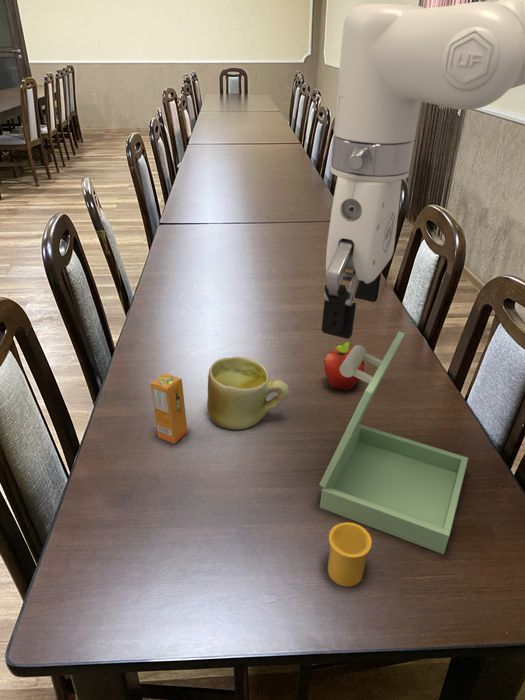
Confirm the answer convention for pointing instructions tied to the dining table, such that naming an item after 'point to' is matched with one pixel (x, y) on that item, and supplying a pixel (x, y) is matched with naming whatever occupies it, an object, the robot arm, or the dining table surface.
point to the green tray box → (397, 487)
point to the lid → (350, 370)
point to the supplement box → (169, 407)
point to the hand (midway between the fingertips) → (350, 315)
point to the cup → (348, 553)
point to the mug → (241, 392)
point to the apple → (333, 366)
